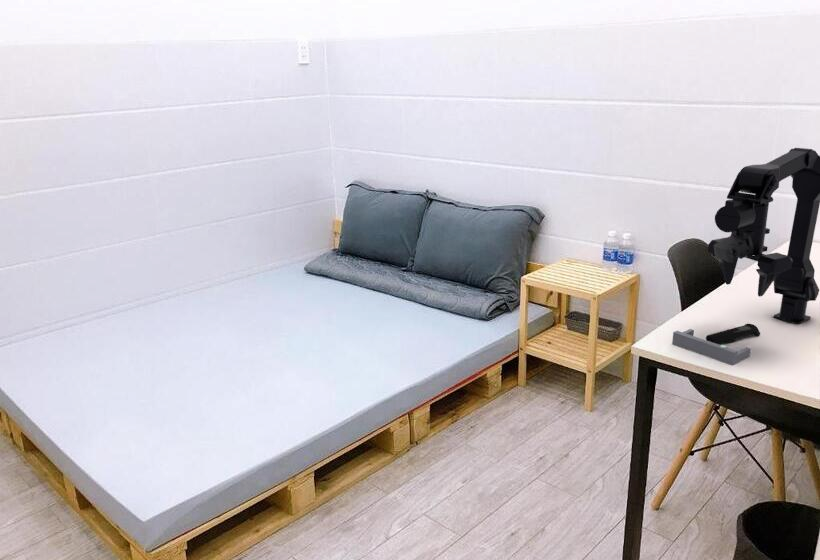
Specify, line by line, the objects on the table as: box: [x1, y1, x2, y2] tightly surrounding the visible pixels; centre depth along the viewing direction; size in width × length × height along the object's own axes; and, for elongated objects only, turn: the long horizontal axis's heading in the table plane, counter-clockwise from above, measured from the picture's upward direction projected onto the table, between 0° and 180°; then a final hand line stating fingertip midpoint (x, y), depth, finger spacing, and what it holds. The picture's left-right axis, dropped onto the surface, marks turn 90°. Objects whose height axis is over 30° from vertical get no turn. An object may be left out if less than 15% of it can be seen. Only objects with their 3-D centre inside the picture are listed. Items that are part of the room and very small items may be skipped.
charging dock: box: [671, 328, 752, 366], centre depth 156 cm, size 7×15×3 cm, turn 36°
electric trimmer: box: [705, 323, 761, 345], centre depth 162 cm, size 4×16×3 cm, turn 114°
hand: (743, 289), depth 156 cm, fingers open, 9 cm apart
